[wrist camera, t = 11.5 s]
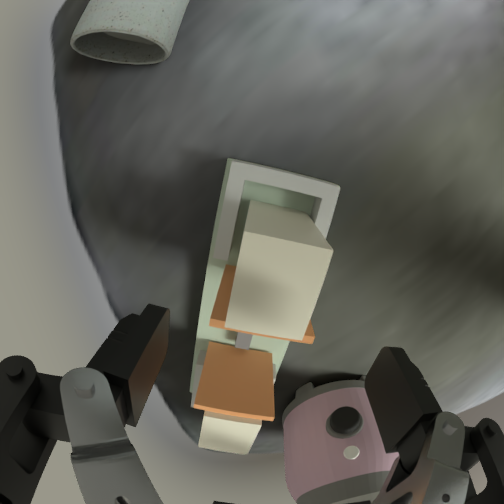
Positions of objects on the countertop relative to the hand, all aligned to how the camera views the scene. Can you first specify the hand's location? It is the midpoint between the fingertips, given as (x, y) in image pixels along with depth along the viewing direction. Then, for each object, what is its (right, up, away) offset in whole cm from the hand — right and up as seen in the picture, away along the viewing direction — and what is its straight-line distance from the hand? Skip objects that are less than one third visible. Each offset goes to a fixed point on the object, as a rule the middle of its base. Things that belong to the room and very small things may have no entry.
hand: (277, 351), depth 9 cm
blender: (+8, -13, +19) cm, 25 cm away
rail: (-1, -1, +14) cm, 15 cm away
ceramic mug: (-10, +22, +7) cm, 25 cm away
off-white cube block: (0, +4, +11) cm, 12 cm away
